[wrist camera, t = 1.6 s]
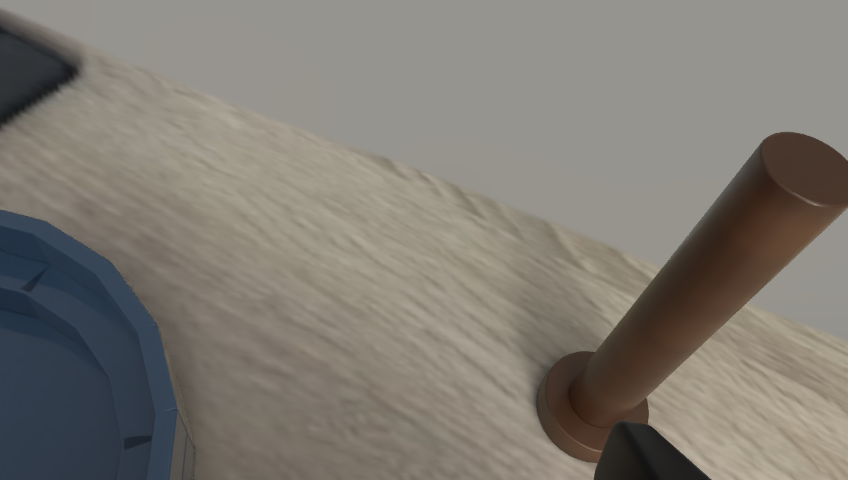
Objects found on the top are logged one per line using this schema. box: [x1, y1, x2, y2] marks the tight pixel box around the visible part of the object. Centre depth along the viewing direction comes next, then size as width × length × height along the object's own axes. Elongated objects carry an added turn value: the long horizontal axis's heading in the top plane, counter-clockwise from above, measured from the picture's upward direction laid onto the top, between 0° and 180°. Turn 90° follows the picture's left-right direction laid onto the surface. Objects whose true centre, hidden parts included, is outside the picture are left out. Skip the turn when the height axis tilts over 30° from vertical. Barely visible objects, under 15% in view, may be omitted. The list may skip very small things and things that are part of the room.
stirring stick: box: [537, 132, 848, 463], centre depth 19 cm, size 4×4×14 cm
